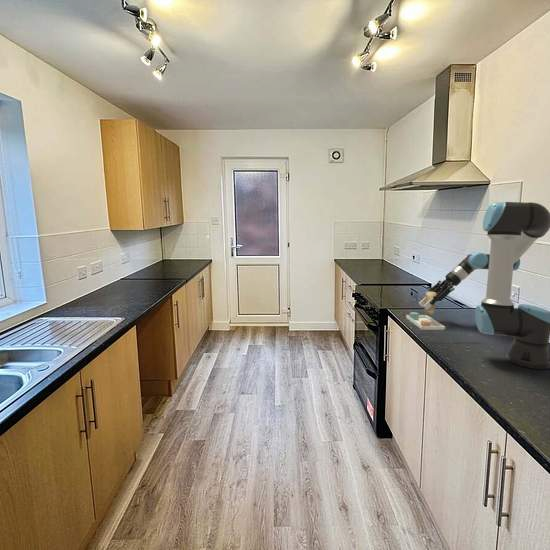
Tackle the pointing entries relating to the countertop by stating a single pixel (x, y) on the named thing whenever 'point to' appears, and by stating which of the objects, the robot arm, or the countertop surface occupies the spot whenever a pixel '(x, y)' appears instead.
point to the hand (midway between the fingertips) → (422, 306)
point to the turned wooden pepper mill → (428, 296)
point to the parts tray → (434, 324)
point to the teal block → (414, 315)
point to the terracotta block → (425, 323)
